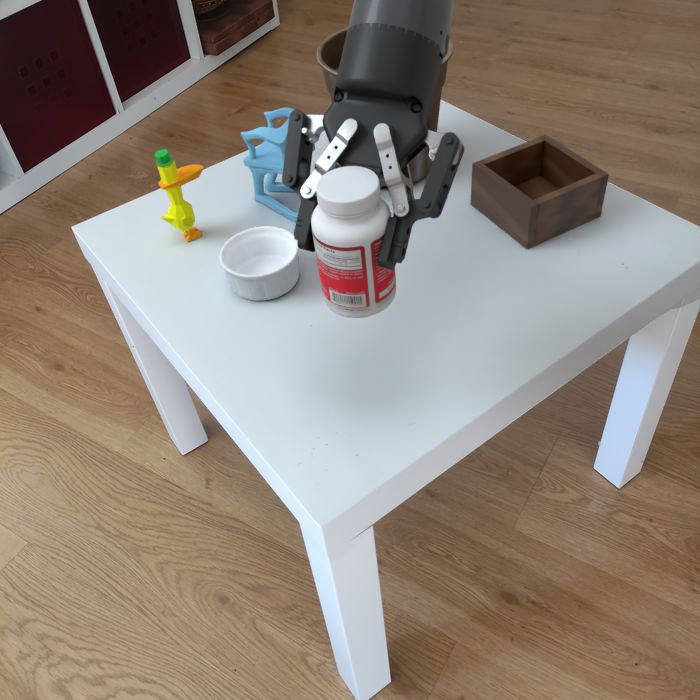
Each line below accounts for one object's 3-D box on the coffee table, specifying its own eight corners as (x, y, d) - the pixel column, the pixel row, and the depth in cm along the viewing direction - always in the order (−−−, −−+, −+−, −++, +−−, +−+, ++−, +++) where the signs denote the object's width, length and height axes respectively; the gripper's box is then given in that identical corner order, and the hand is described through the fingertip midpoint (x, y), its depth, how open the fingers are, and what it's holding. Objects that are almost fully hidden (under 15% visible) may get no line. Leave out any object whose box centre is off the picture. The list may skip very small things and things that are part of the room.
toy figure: (211, 218, 92) (188, 133, 84) (224, 230, 90) (202, 144, 82) (163, 239, 90) (135, 154, 81) (176, 253, 88) (147, 167, 79)
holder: (540, 175, 93) (545, 134, 89) (600, 216, 86) (609, 174, 82) (470, 204, 90) (472, 163, 85) (526, 249, 83) (531, 207, 78)
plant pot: (474, 156, 97) (480, 36, 86) (401, 215, 89) (396, 91, 78) (380, 124, 105) (374, 10, 94) (305, 175, 97) (288, 58, 86)
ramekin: (287, 310, 79) (281, 280, 76) (214, 299, 81) (205, 270, 78) (314, 260, 85) (309, 230, 81) (244, 251, 87) (237, 221, 84)
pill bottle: (380, 264, 63) (372, 152, 55) (408, 307, 59) (403, 193, 51) (313, 284, 62) (294, 173, 54) (336, 330, 58) (320, 217, 50)
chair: (276, 178, 98) (261, 94, 89) (329, 190, 94) (319, 104, 86) (244, 209, 93) (225, 124, 84) (299, 223, 90) (285, 136, 81)
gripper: (290, 10, 53) (241, 234, 54) (479, 28, 48) (420, 273, 50) (329, 50, 60) (285, 247, 61) (497, 69, 55) (445, 283, 57)
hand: (345, 258), depth 55 cm, fingers closed on pill bottle, 6 cm apart
